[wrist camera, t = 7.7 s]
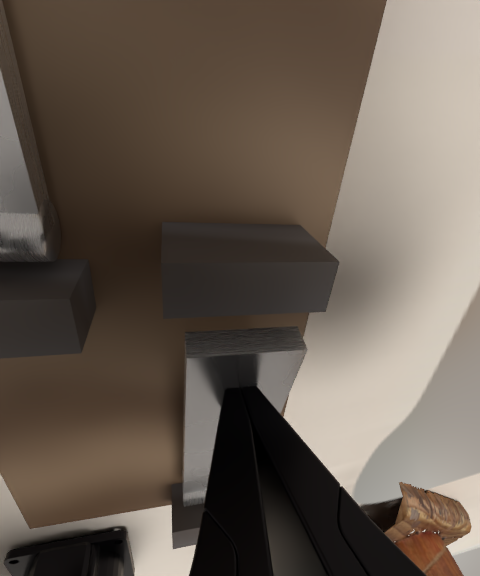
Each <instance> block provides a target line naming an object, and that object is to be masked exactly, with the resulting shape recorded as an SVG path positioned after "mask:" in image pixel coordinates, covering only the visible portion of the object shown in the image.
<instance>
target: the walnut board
mask: <svg viewBox="0 0 480 576" xmlns="http://www.w3.org/2000/svg"><path fill="white" fill-rule="evenodd" d="M386 1H387V0H2V2H3V6H4V10H5V14H6V19H7V23H8V27H9V31H10V35H11V40H12V44H13V48H14V52H15V57H16V61H17V65H18V69H19V73H20V78H21V82H22V86H23V90H24V94H25V99H26V103H27V107H28V111H29V116H30V120H31V124H32V128H33V132H34V137H35V141H36V145H37V149H38V154H39V158H40V162H41V166H42V170H43V175H44V179H45V183H46V187H47V191H48V196H49V200H50V202H51V203H52V204H53V206H54V207H55V210H56V212H57V215H58V219H59V224H60V231H61V245H60V251H59V255H58V257H57V259H56V260H55V261H53V262H0V473H1V475H2V477H3V479H4V481H5V483H6V485H7V487H8V488H9V490H10V492H11V494H12V496H13V498H14V500H15V502H16V504H17V505H18V507H19V509H20V511H21V513H22V515H23V517H24V519H25V521H26V522H27V524H28V526H29V528H30V529H33V528H38V527H44V526H50V525H56V524H62V523H67V522H73V521H79V520H85V519H90V518H96V517H102V516H108V515H114V514H119V513H125V512H131V511H137V510H143V509H148V508H154V507H160V506H166V505H172V538H173V549H176V548H181V547H186V546H191V545H196V544H197V539H198V534H199V529H200V523H201V517H202V513H203V507H204V503H202V504H196V505H191V506H185V507H183V488H182V470H183V414H184V355H185V332H197V331H216V330H234V329H252V328H270V327H289V326H298V329H299V331H300V333H301V336H302V338H303V336H304V332H305V327H306V323H307V319H308V315H309V312H325V311H326V308H327V304H328V301H329V297H330V294H331V290H332V286H333V283H334V279H335V276H336V272H337V269H338V265H339V261H338V260H337V259H336V258H335V257H334V256H333V255H331V254H330V253H329V252H328V251H327V250H326V249H325V247H326V243H327V239H328V235H329V231H330V227H331V223H332V219H333V215H334V211H335V207H336V203H337V199H338V195H339V191H340V186H341V182H342V178H343V174H344V170H345V166H346V162H347V158H348V154H349V150H350V146H351V142H352V138H353V134H354V130H355V126H356V122H357V118H358V114H359V110H360V106H361V102H362V98H363V94H364V90H365V86H366V82H367V78H368V74H369V70H370V66H371V62H372V58H373V54H374V50H375V45H376V41H377V37H378V33H379V29H380V25H381V21H382V17H383V13H384V9H385V5H386ZM288 396H289V395H288ZM287 400H288V397H287V399H286V402H285V404H284V407H283V409H282V411H281V415H282V416H284V412H285V408H286V404H287Z"/></svg>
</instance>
